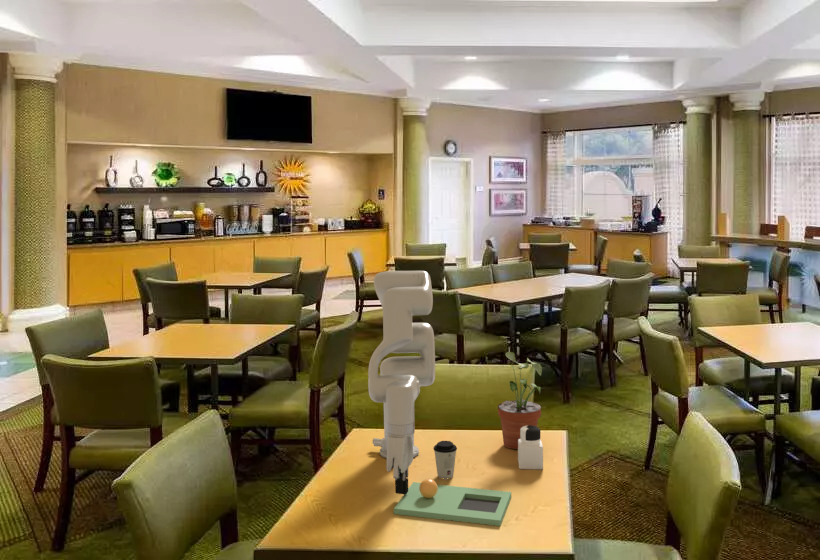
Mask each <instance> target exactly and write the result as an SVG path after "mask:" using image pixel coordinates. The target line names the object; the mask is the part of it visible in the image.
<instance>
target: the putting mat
mask: <svg viewBox="0 0 820 560" xmlns="http://www.w3.org/2000/svg"><path fill="white" fill-rule="evenodd" d="M420 484H421V482H417V481H416V482H412V483H411V484H410V485H409V486H408V492H407V494H402V495H403V496H401V498H400V499H399V501H398V502H396V504H395V506H394V508H393V514H394V515H400V516H409V517H417V518H418V517H419V518H425V519H426V518H427V519H435V520H442V519H444V520H445V521H451V520H453V522H459V521H462V522H461V523H468V522H471V523H470V524H477V523H478V524H479V523H480V525H485V524H487V525H486V526H494V525H495V526H497V527H501V526H502V522H503V520H504V517H505V515H506V513H507V510H508V507H509V505H510V501H511V499H512V491H506V490H505V491H504V490H497V489H495V490H493V489H484V488H474V487H466V486H465V487H464V486H455V485H454V486H453V485H443V484H437V486H438V491H437V493H436V495H435V496H434V497H432V498H425V497H423V496H422V495H421V493H420V491H419V486H420Z"/></svg>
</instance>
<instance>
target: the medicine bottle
mask: <svg viewBox="0 0 820 560" xmlns="http://www.w3.org/2000/svg"><path fill="white" fill-rule="evenodd" d="M517 462H518V468H519V469H520V470H543V469H544V445H543V442H542V439H541V429H540V427H538V426H537V427H536V426H532V425H527V426H524V427H522V428H521V429H520V439H518V449H517Z"/></svg>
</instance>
